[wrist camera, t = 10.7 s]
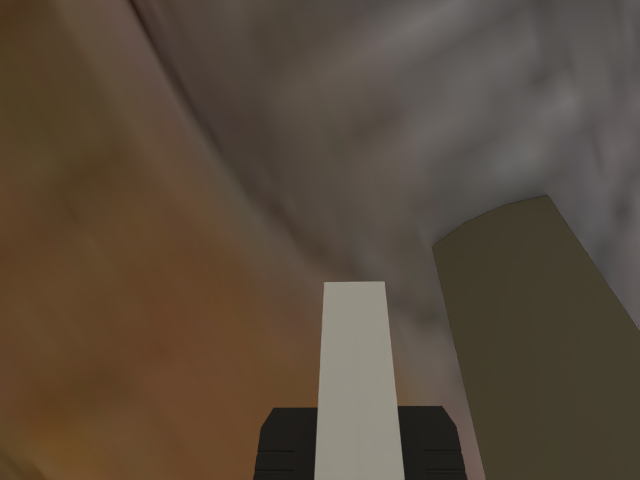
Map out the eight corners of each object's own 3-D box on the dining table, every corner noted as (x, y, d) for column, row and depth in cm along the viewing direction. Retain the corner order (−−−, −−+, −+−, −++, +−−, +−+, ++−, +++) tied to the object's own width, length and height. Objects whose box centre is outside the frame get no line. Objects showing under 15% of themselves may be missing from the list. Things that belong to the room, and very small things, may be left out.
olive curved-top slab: (426, 235, 45) (513, 621, 21) (541, 183, 42) (797, 558, 18) (523, 406, 54) (662, 813, 30) (623, 372, 51) (866, 791, 27)
